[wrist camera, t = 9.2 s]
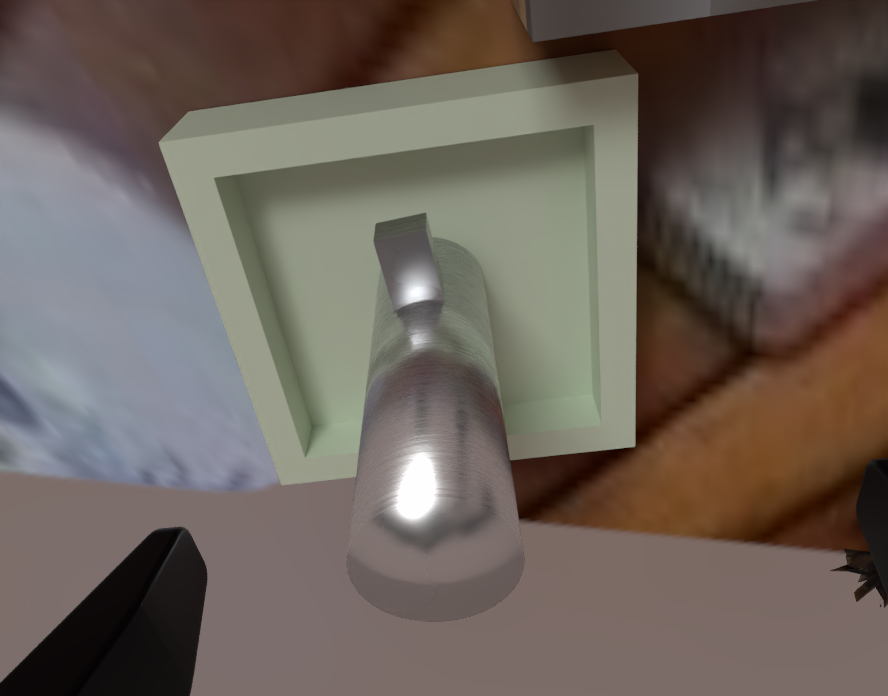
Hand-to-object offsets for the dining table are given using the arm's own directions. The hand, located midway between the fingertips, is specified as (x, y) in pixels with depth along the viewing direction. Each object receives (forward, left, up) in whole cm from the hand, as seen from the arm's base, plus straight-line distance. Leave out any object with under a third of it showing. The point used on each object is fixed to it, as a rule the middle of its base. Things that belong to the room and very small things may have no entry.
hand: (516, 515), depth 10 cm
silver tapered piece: (+2, +3, -11) cm, 12 cm away
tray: (+2, +3, -12) cm, 13 cm away
